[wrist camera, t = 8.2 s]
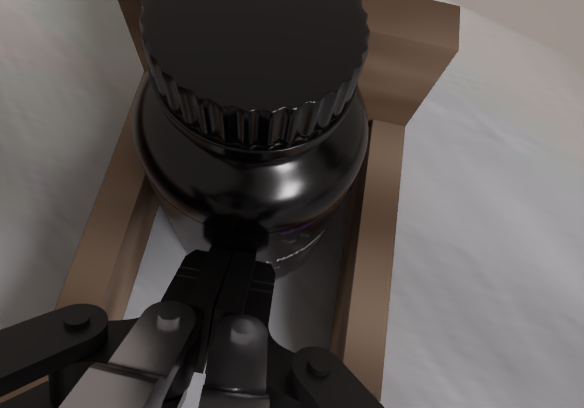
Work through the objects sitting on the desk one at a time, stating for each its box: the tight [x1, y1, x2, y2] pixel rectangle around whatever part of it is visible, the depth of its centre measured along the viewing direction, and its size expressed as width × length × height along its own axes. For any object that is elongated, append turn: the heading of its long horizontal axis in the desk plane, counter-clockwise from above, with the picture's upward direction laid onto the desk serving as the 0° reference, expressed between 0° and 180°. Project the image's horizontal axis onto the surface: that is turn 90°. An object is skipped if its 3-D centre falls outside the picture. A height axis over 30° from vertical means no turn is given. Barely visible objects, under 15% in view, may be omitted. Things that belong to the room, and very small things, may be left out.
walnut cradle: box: [0, 0, 460, 403], centre depth 15 cm, size 18×15×8 cm
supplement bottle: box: [132, 0, 370, 280], centre depth 14 cm, size 7×7×12 cm
